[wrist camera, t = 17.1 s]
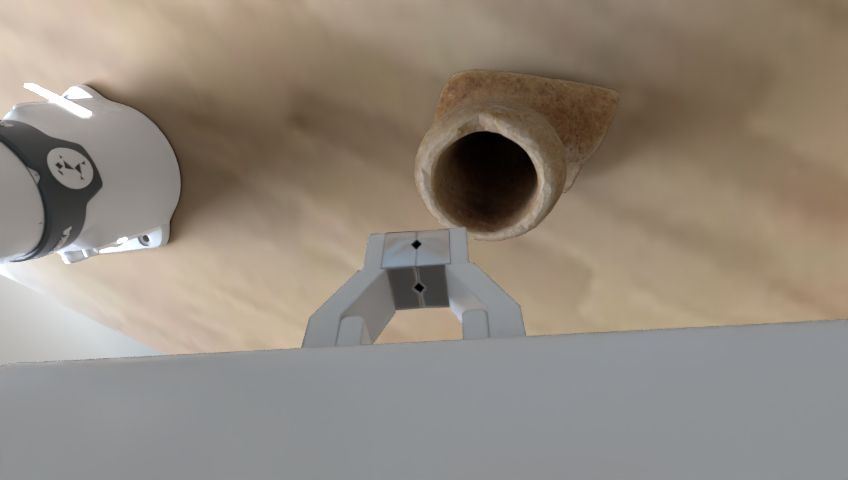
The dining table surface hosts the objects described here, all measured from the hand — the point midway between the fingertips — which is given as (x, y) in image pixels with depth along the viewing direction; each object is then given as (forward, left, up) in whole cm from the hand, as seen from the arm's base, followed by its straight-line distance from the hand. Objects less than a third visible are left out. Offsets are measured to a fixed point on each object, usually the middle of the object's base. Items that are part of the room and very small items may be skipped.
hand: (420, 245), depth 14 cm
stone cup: (+3, -1, -31) cm, 31 cm away
